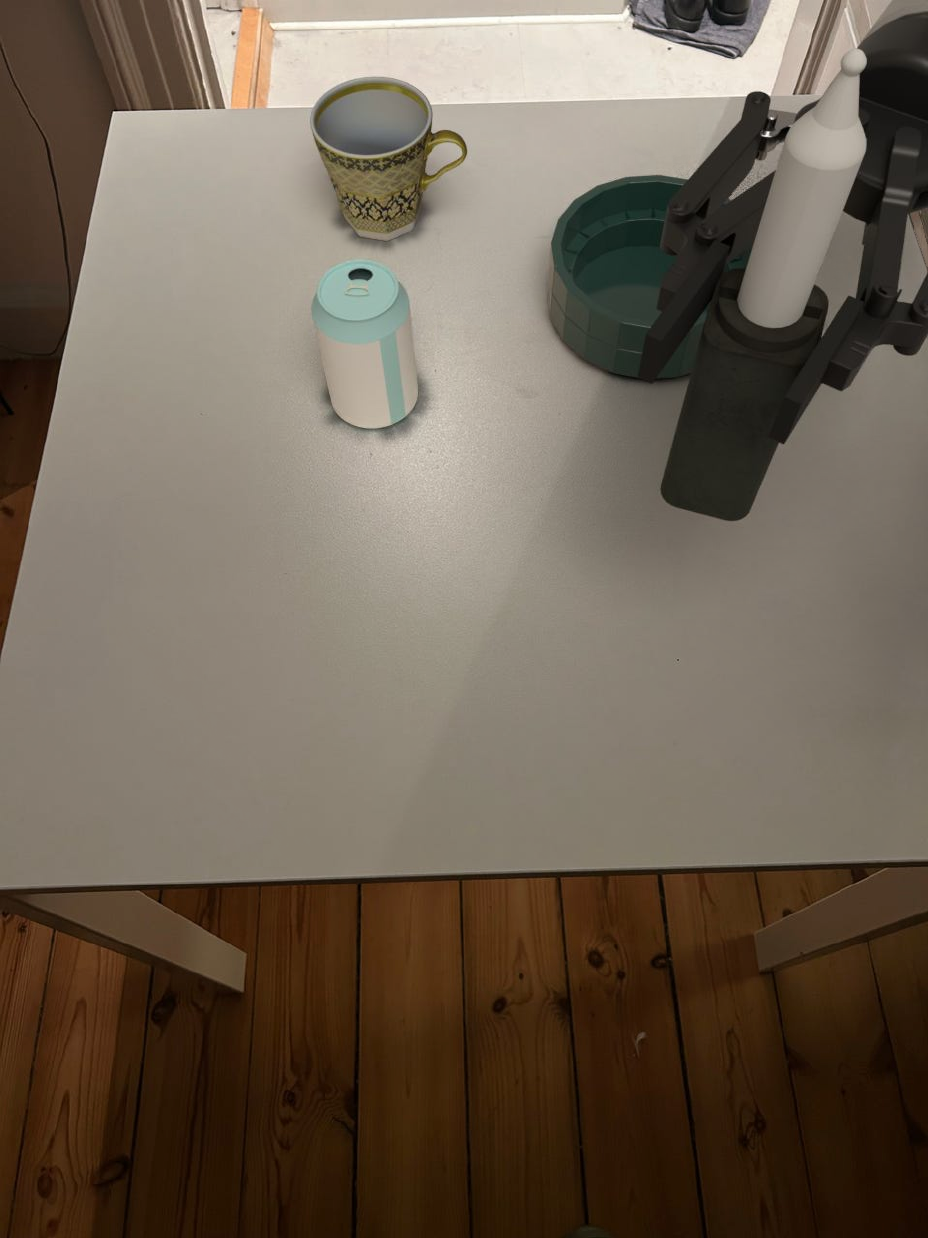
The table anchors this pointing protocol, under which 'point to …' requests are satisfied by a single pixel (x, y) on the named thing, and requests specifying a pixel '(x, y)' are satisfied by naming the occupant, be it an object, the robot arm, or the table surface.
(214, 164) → the table surface
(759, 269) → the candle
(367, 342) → the can
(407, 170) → the ceramic cup
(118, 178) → the table surface
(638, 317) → the bowl
